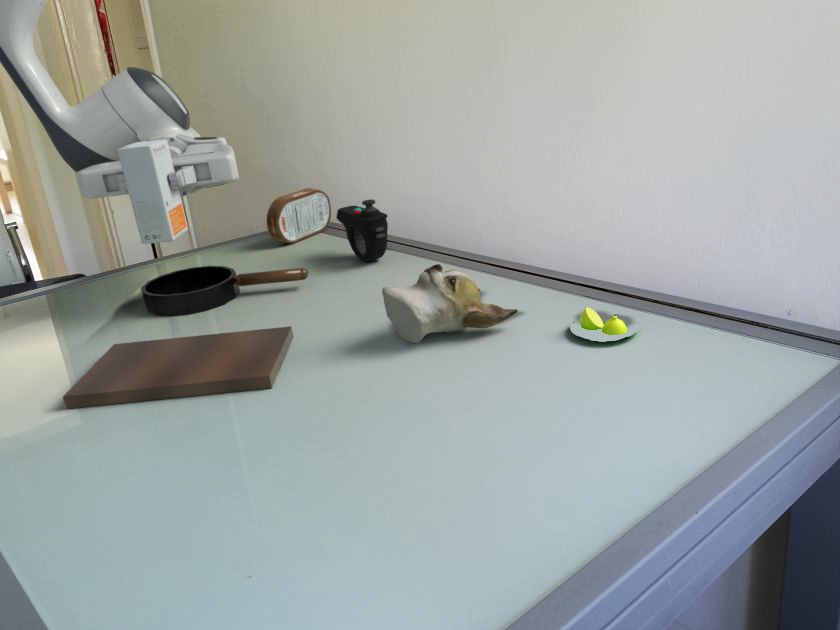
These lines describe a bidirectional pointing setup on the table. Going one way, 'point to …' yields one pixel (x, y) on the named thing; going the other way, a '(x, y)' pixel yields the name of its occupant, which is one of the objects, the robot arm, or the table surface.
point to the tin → (298, 215)
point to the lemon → (594, 322)
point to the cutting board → (183, 367)
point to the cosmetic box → (153, 191)
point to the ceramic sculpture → (439, 305)
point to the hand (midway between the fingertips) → (151, 183)
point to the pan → (205, 288)
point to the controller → (365, 230)
